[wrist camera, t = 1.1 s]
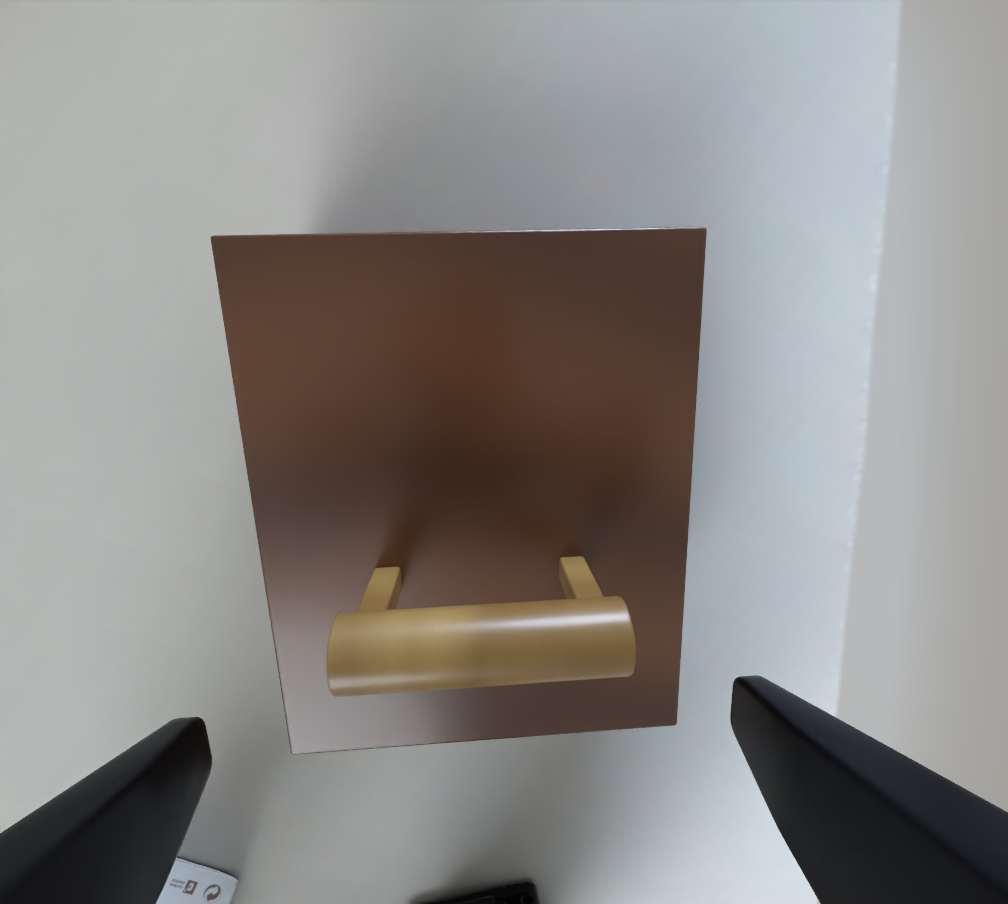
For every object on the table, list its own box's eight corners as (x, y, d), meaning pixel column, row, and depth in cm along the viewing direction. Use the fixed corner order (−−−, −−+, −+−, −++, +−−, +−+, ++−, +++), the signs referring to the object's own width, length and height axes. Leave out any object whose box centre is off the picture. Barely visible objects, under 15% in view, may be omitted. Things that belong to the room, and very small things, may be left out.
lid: (666, 707, 16) (750, 864, 11) (300, 734, 15) (221, 913, 10) (692, 233, 12) (827, 168, 8) (226, 241, 12) (62, 176, 7)
